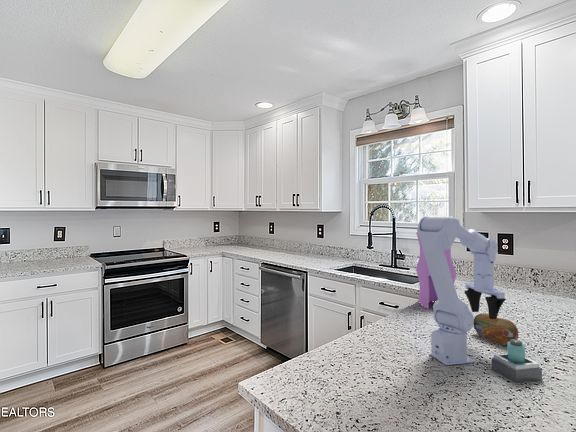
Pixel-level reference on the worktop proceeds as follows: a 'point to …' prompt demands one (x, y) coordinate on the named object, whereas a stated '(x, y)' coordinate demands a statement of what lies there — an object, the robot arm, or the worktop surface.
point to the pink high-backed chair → (429, 277)
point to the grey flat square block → (517, 369)
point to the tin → (495, 328)
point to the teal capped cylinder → (516, 351)
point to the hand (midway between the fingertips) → (483, 315)
